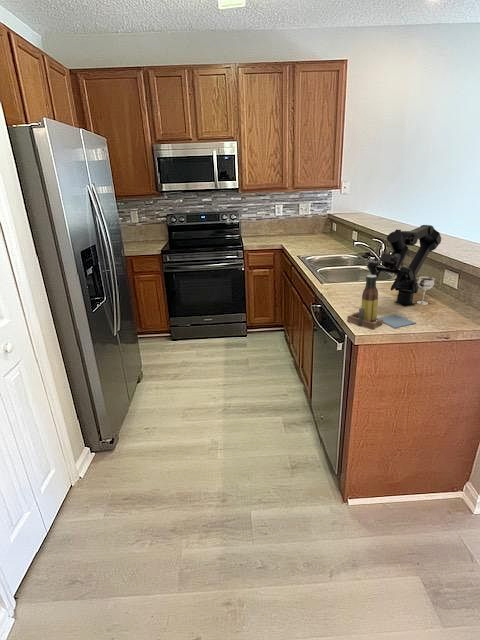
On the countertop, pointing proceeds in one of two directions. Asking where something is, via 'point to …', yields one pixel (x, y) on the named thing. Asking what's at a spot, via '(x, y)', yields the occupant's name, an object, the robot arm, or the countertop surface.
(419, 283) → the wineglass
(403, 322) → the slate mat
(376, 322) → the c holder
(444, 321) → the countertop surface
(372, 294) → the sauce bottle
